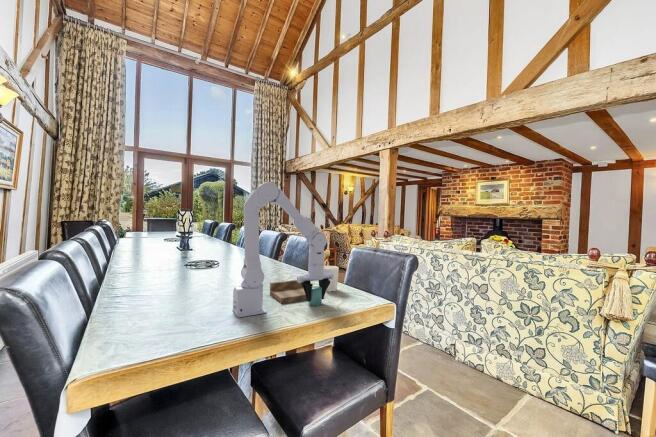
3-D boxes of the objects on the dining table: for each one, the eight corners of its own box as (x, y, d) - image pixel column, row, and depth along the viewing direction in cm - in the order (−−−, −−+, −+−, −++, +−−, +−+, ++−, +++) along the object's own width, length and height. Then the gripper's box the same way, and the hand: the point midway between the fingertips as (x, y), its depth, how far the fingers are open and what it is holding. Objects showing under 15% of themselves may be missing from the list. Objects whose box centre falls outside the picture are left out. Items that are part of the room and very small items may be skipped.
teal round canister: (312, 307, 102) (312, 290, 102) (305, 303, 107) (306, 287, 106) (324, 305, 105) (324, 289, 105) (317, 301, 109) (317, 285, 109)
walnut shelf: (281, 303, 105) (281, 290, 105) (269, 294, 115) (270, 282, 115) (322, 297, 115) (323, 284, 114) (309, 289, 125) (309, 278, 125)
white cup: (338, 287, 129) (339, 266, 129) (337, 292, 121) (338, 269, 121) (321, 286, 130) (322, 265, 130) (319, 291, 122) (319, 268, 122)
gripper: (303, 267, 98) (302, 305, 99) (338, 263, 106) (337, 300, 106) (294, 263, 104) (293, 300, 105) (328, 260, 112) (327, 294, 112)
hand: (315, 299), depth 106 cm, fingers closed on teal round canister, 5 cm apart
